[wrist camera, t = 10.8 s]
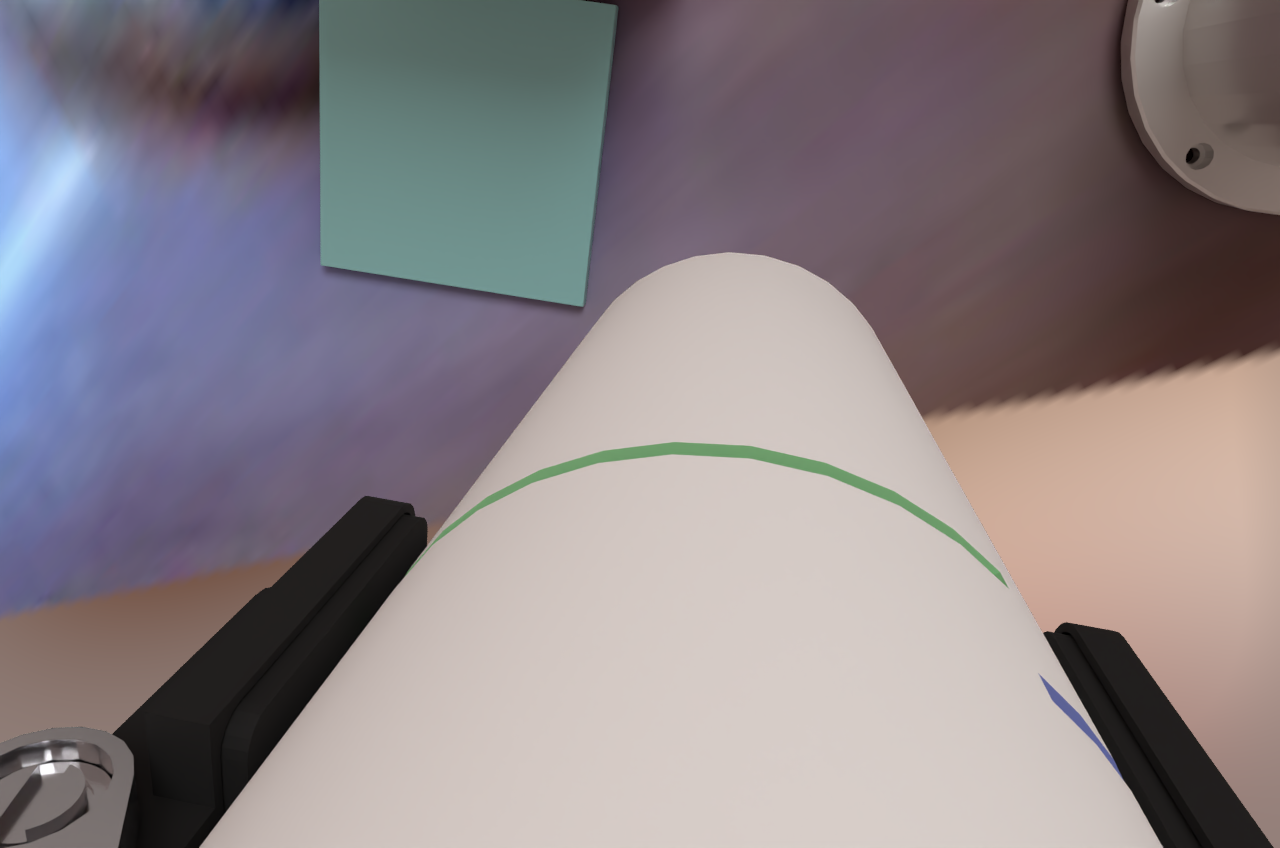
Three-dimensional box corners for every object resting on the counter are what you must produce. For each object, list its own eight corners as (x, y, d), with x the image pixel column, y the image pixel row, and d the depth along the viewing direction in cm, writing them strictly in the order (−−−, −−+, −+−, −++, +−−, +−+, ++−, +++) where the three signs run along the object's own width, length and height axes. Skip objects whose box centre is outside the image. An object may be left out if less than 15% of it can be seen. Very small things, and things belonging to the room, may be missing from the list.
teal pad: (618, 7, 30) (616, 5, 29) (585, 303, 34) (582, 306, 33) (326, -33, 31) (318, -36, 30) (327, 262, 35) (320, 265, 34)
